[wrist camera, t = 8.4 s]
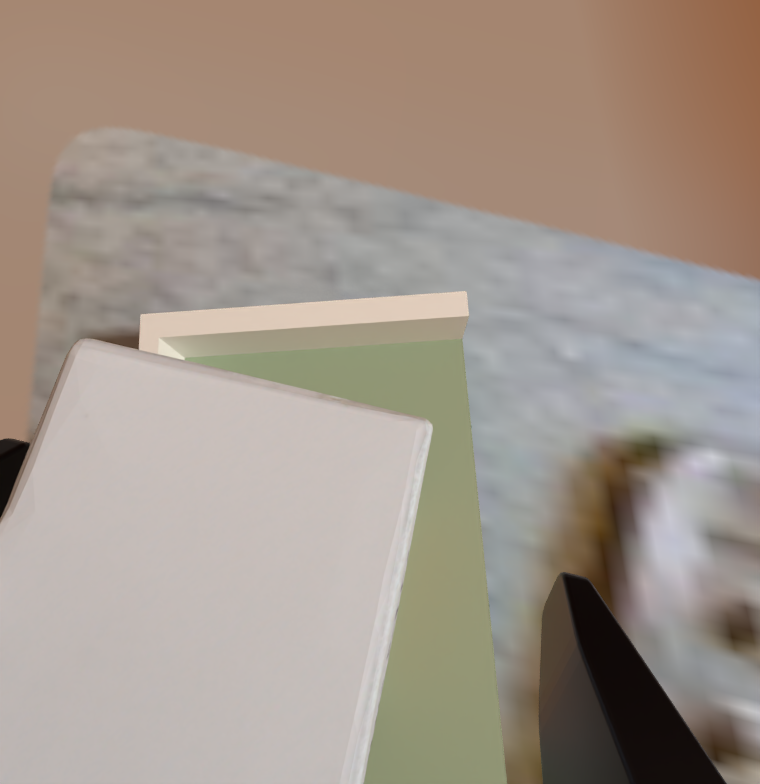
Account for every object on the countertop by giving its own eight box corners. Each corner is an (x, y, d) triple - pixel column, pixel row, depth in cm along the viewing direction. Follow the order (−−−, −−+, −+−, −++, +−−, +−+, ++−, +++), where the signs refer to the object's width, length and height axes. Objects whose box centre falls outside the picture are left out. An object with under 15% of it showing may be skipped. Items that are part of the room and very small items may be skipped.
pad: (510, 863, 15) (534, 936, 12) (156, 877, 15) (103, 951, 13) (457, 325, 19) (466, 291, 16) (177, 344, 19) (140, 314, 17)
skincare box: (372, 702, 16) (276, 1208, 4) (231, 664, 16) (-229, 1016, 4) (418, 493, 17) (446, 411, 5) (287, 462, 17) (51, 324, 6)
